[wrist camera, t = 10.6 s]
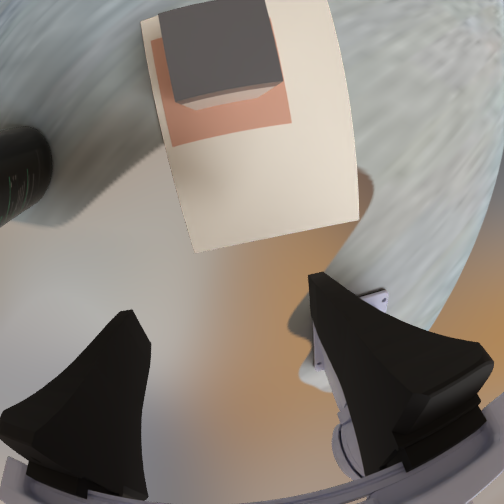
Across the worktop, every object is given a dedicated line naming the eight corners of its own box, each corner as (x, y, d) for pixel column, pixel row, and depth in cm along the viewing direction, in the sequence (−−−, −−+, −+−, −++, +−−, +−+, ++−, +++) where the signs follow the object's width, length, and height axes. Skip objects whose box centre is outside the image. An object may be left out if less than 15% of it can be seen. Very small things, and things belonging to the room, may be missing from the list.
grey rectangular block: (257, 98, 16) (283, 81, 8) (196, 110, 16) (175, 101, 8) (245, 44, 14) (263, -6, 7) (184, 56, 14) (158, 14, 7)
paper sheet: (357, 218, 21) (359, 220, 20) (195, 251, 21) (194, 254, 20) (324, -2, 12) (326, -4, 12) (142, 22, 12) (140, 20, 12)
